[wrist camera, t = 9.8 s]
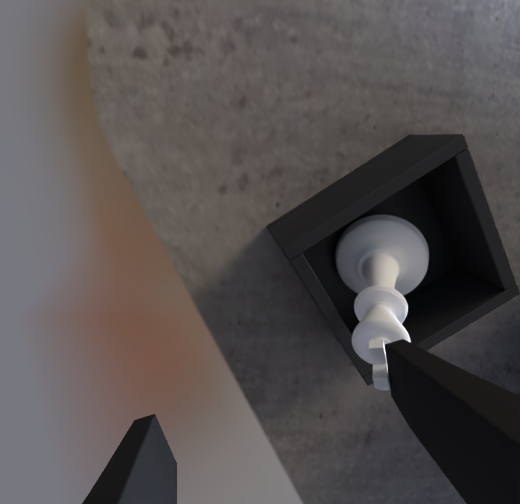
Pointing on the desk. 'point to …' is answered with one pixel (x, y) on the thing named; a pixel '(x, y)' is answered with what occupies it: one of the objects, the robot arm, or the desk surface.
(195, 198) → the desk surface
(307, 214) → the black bin
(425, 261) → the chess piece
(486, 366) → the desk surface
